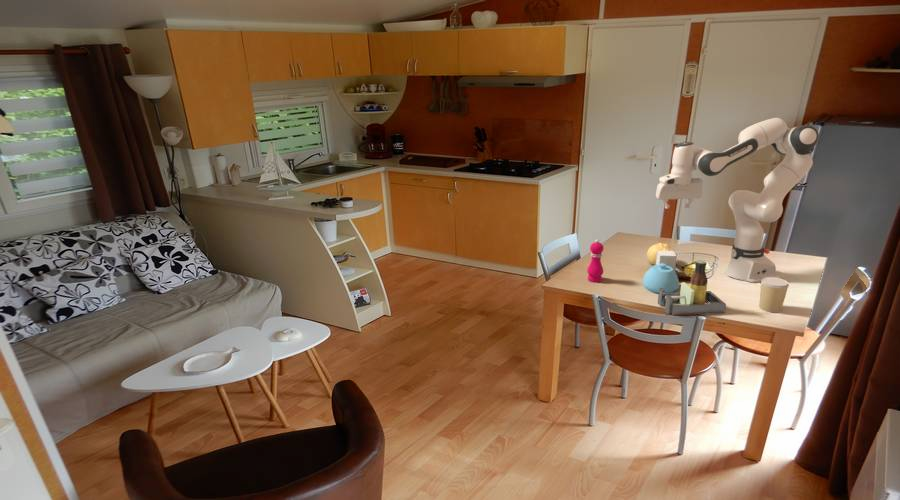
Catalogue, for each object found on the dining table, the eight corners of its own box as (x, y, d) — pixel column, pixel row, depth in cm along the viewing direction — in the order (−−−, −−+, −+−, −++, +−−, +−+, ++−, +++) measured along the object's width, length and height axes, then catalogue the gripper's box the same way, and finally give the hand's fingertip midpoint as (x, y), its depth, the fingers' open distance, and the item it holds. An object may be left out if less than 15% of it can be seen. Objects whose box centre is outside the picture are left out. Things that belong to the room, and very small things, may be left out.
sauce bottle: (707, 308, 210) (714, 263, 203) (694, 311, 209) (700, 265, 202) (696, 302, 216) (703, 258, 209) (683, 304, 215) (689, 259, 208)
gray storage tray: (708, 299, 218) (711, 284, 216) (724, 312, 207) (726, 297, 204) (656, 301, 218) (658, 286, 216) (668, 315, 206) (670, 299, 204)
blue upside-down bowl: (676, 297, 221) (679, 272, 217) (639, 291, 228) (641, 267, 224) (680, 284, 234) (683, 260, 230) (645, 279, 241) (647, 256, 237)
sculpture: (674, 268, 251) (677, 247, 248) (649, 268, 253) (651, 247, 249) (668, 259, 262) (670, 239, 258) (643, 259, 263) (645, 239, 260)
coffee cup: (771, 302, 214) (777, 275, 210) (789, 312, 205) (794, 284, 201) (751, 304, 213) (756, 277, 208) (767, 314, 204) (773, 286, 200)
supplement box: (674, 281, 237) (677, 256, 232) (656, 281, 238) (659, 255, 234) (670, 275, 243) (673, 250, 239) (654, 274, 245) (657, 249, 241)
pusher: (681, 301, 216) (684, 282, 213) (691, 311, 208) (694, 291, 205) (660, 302, 216) (662, 283, 213) (669, 312, 208) (671, 292, 205)
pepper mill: (589, 275, 247) (591, 236, 240) (604, 278, 243) (607, 238, 236) (584, 281, 241) (587, 240, 234) (600, 283, 237) (603, 243, 230)
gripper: (699, 176, 237) (696, 205, 242) (655, 178, 237) (653, 207, 242) (706, 179, 231) (702, 208, 236) (661, 181, 231) (658, 210, 236)
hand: (677, 207), depth 239 cm, fingers open, 8 cm apart
